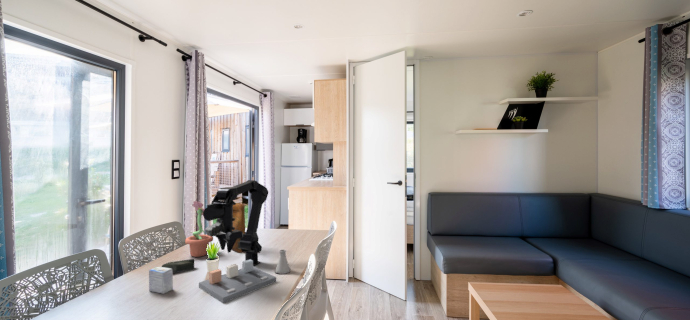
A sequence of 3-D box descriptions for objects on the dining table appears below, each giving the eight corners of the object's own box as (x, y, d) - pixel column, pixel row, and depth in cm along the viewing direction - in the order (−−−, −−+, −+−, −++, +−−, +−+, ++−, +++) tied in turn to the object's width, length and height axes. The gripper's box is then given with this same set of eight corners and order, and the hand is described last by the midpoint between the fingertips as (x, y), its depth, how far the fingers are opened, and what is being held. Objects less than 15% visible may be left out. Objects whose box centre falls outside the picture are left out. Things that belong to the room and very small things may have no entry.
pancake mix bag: (239, 255, 158) (239, 204, 158) (222, 248, 171) (222, 201, 170) (250, 252, 163) (250, 203, 163) (233, 245, 176) (233, 199, 176)
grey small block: (242, 271, 131) (242, 261, 131) (250, 269, 134) (250, 259, 134) (245, 273, 129) (245, 263, 129) (253, 270, 132) (253, 260, 132)
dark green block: (193, 257, 142) (157, 263, 133) (195, 259, 140) (158, 265, 130) (193, 267, 142) (157, 274, 132) (194, 269, 140) (158, 276, 130)
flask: (286, 275, 133) (286, 253, 132) (272, 273, 134) (272, 252, 134) (292, 269, 140) (292, 248, 140) (278, 268, 141) (278, 247, 141)
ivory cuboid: (226, 276, 125) (226, 266, 125) (235, 274, 128) (235, 263, 128) (229, 278, 123) (229, 267, 123) (238, 275, 127) (238, 265, 126)
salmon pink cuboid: (209, 282, 119) (209, 271, 119) (218, 279, 122) (218, 268, 122) (211, 284, 118) (211, 273, 118) (221, 281, 121) (221, 270, 121)
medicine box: (173, 289, 118) (173, 268, 118) (163, 294, 114) (163, 272, 114) (159, 286, 120) (158, 265, 120) (148, 291, 116) (148, 269, 116)
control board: (198, 287, 120) (198, 281, 120) (250, 270, 138) (250, 264, 138) (222, 303, 107) (222, 296, 107) (276, 281, 125) (276, 275, 125)
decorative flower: (219, 253, 161) (219, 200, 161) (195, 261, 149) (195, 203, 149) (204, 249, 169) (204, 198, 169) (180, 256, 157) (179, 201, 157)
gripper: (198, 216, 129) (198, 251, 129) (218, 222, 117) (218, 260, 117) (222, 212, 137) (222, 245, 137) (243, 218, 125) (243, 253, 126)
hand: (226, 251), depth 129 cm, fingers open, 5 cm apart
